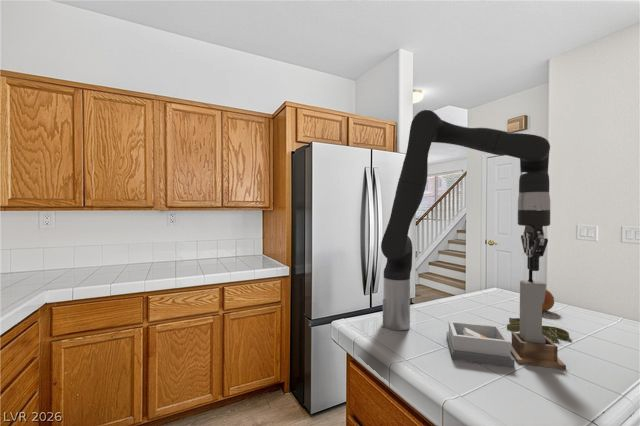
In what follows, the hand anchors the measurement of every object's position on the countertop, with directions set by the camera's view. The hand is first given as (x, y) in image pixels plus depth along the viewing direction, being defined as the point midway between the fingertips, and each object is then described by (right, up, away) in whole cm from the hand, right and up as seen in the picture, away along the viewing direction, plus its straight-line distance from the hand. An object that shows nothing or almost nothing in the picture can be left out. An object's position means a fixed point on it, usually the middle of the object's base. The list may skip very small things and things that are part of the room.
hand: (533, 270), depth 85 cm
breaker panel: (-14, -24, +3) cm, 28 cm away
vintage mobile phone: (0, -20, 0) cm, 20 cm away
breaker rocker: (-14, -20, +3) cm, 25 cm away
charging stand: (0, -24, 0) cm, 24 cm away
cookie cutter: (+14, -25, +19) cm, 34 cm away
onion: (+31, -25, +40) cm, 57 cm away
